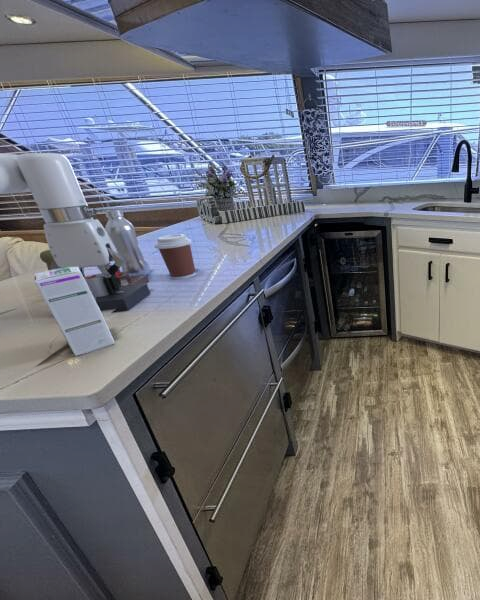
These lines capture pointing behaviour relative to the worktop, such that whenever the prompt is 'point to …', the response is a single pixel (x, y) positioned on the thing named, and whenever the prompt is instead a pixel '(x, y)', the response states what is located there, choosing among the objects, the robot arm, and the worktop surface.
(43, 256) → the cork
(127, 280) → the ignition block
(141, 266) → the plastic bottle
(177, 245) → the coffee cup
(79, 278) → the syrup box
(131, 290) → the panel
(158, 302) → the worktop surface
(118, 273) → the ignition button
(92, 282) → the stove knob
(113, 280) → the robot arm
